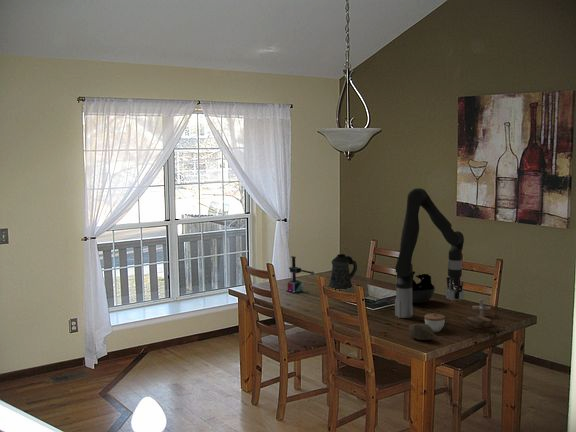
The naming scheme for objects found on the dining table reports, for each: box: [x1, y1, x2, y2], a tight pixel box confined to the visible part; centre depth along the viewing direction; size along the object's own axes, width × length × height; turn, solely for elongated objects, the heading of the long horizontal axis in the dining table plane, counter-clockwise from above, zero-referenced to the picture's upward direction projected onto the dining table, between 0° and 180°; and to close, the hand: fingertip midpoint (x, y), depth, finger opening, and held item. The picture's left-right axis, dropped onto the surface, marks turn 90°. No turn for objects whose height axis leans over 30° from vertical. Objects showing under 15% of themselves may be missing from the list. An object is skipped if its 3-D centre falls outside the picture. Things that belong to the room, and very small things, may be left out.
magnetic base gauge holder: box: [285, 255, 315, 294], centre depth 431 cm, size 25×9×24 cm, turn 39°
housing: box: [445, 287, 465, 301], centre depth 350 cm, size 8×5×6 cm, turn 105°
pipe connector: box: [471, 298, 491, 317], centre depth 362 cm, size 10×10×10 cm
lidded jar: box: [424, 312, 446, 333], centre depth 339 cm, size 11×11×9 cm
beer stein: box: [328, 253, 358, 291], centre depth 433 cm, size 16×19×25 cm
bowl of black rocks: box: [412, 271, 436, 304], centre depth 394 cm, size 20×20×19 cm
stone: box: [407, 323, 436, 341], centre depth 325 cm, size 17×9×8 cm, turn 40°
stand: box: [463, 315, 495, 329], centre depth 347 cm, size 11×11×3 cm
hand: (454, 297), depth 350 cm, fingers closed on housing, 5 cm apart
